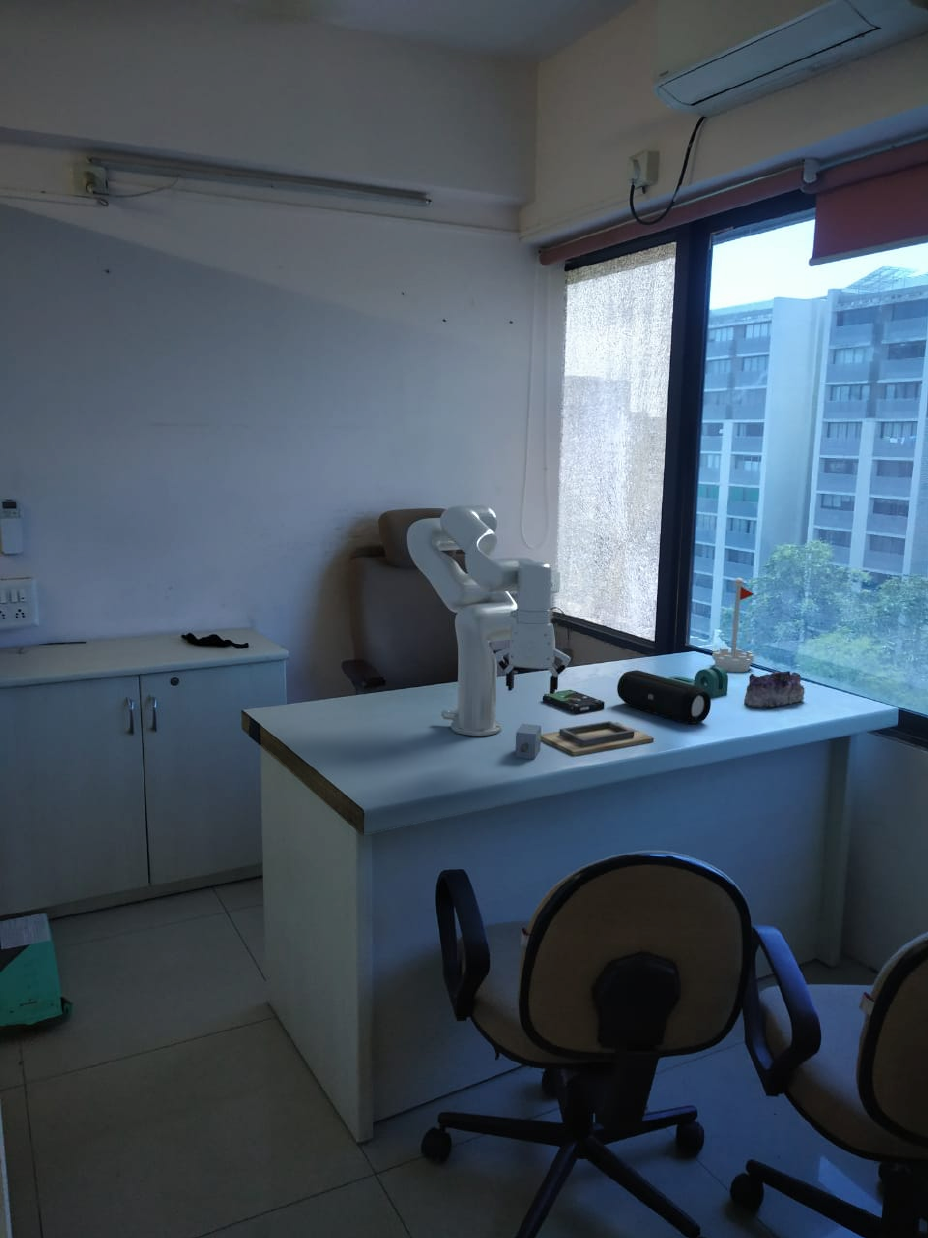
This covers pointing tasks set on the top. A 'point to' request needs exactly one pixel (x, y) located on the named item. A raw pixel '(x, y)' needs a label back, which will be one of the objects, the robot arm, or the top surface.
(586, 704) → the disk drive
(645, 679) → the portable speaker
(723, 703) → the top surface
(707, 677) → the bracket
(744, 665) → the flag stand
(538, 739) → the connector plug
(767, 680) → the geode
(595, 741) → the end holder
